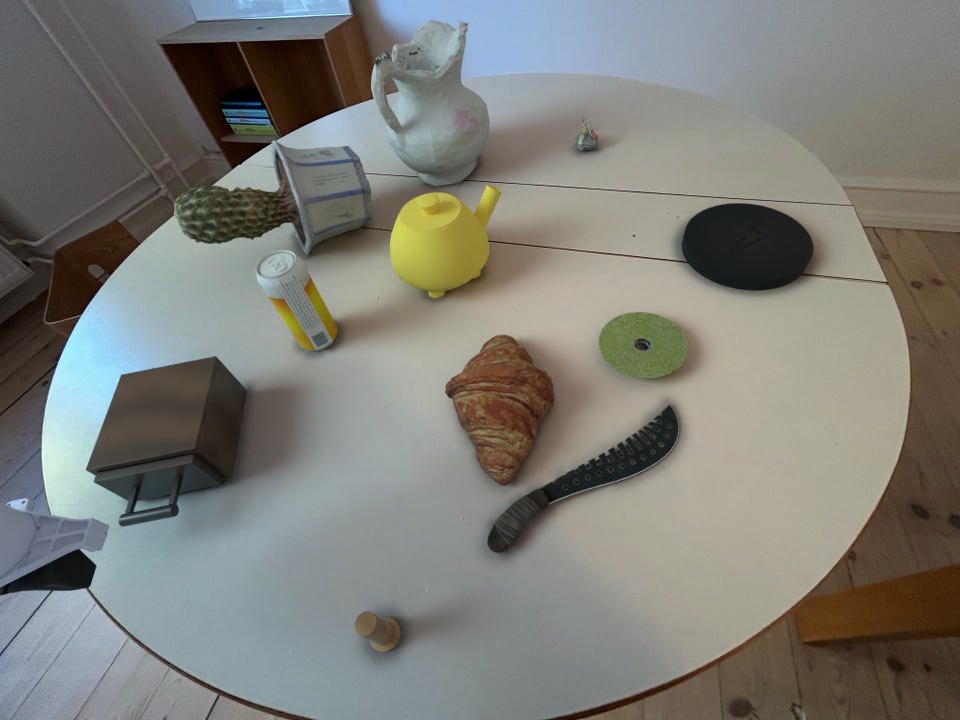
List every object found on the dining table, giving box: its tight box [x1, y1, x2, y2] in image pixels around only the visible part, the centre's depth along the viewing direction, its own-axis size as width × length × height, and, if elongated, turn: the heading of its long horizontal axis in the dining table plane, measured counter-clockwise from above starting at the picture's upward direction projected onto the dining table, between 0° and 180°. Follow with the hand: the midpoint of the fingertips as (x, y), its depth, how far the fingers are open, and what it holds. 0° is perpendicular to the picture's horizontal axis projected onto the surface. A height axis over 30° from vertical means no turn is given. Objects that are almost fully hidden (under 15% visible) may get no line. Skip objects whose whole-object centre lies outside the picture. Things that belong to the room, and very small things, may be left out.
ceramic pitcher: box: [370, 19, 490, 187], centre depth 88 cm, size 22×20×25 cm
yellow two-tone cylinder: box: [255, 249, 338, 352], centre depth 68 cm, size 6×6×15 cm
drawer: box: [92, 453, 224, 528], centre depth 60 cm, size 17×11×6 cm, turn 9°
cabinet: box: [85, 355, 248, 480], centre depth 62 cm, size 14×13×8 cm
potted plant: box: [173, 139, 374, 255], centre depth 81 cm, size 18×18×30 cm
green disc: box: [598, 311, 689, 380], centre depth 65 cm, size 11×11×2 cm
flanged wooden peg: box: [354, 610, 401, 653], centre depth 46 cm, size 3×3×7 cm
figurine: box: [575, 117, 599, 151], centre depth 95 cm, size 5×4×6 cm
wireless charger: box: [681, 202, 814, 291], centre depth 74 cm, size 18×18×2 cm
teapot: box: [389, 184, 503, 299], centre depth 75 cm, size 20×16×14 cm
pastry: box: [444, 334, 556, 486], centre depth 60 cm, size 17×15×8 cm
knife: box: [486, 403, 680, 554], centre depth 55 cm, size 28×2×5 cm
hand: (86, 577), depth 45 cm, fingers closed
